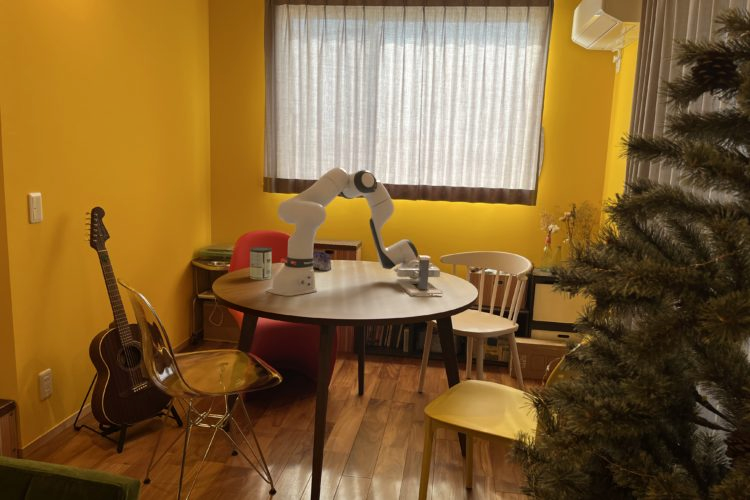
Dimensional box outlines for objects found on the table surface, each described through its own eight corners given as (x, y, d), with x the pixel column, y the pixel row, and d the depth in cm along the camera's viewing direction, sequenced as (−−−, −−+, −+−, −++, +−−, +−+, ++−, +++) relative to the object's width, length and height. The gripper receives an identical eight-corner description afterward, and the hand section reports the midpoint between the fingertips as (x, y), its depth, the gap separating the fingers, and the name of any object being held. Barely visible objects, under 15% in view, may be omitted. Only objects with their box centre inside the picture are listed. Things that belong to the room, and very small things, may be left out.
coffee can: (253, 274, 273) (253, 246, 271) (274, 276, 272) (274, 247, 270) (246, 279, 263) (246, 249, 260) (268, 280, 262) (268, 250, 259)
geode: (339, 271, 293) (337, 252, 290) (318, 275, 288) (317, 256, 285) (324, 262, 310) (323, 245, 308) (305, 266, 305) (303, 248, 303)
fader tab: (416, 290, 254) (418, 255, 251) (425, 290, 254) (428, 255, 252) (418, 293, 249) (421, 257, 247) (428, 293, 250) (430, 257, 248)
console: (397, 282, 271) (397, 278, 271) (425, 282, 274) (425, 279, 273) (410, 296, 244) (411, 292, 244) (441, 296, 247) (442, 292, 246)
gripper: (393, 262, 264) (400, 268, 250) (435, 263, 267) (444, 269, 254) (392, 275, 265) (399, 282, 251) (434, 276, 268) (443, 282, 255)
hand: (422, 275), depth 253 cm, fingers closed, pressing on fader tab
